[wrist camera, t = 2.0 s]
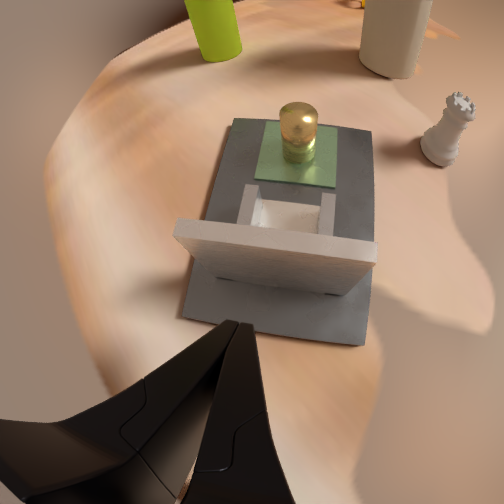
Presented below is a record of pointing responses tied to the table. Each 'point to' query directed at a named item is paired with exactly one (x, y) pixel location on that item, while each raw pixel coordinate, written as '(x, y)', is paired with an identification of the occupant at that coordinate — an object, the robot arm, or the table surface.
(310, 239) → the grey bracket
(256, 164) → the base
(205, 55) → the soap dispenser
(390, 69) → the travel mug
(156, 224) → the table surface
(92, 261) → the table surface
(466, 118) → the rook chess piece
